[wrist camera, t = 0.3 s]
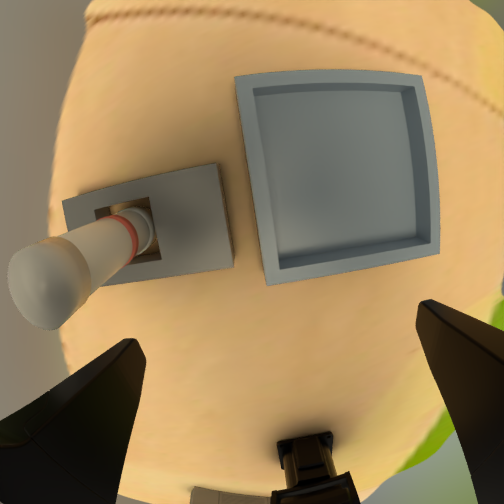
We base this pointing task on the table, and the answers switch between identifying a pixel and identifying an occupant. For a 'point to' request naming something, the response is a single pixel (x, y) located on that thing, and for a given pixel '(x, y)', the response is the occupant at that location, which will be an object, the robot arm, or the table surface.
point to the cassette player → (223, 497)
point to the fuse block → (168, 222)
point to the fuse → (76, 265)
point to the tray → (339, 170)
